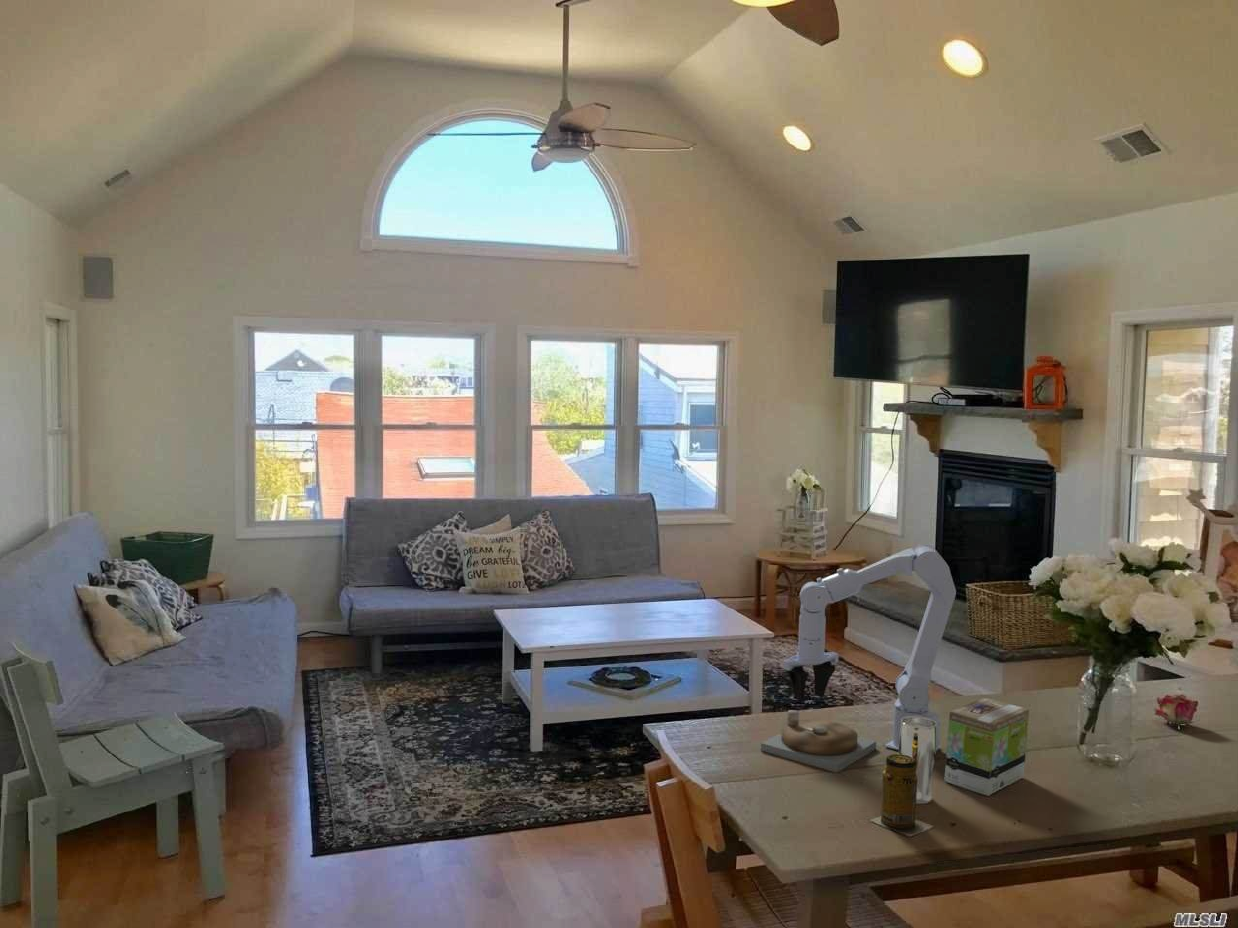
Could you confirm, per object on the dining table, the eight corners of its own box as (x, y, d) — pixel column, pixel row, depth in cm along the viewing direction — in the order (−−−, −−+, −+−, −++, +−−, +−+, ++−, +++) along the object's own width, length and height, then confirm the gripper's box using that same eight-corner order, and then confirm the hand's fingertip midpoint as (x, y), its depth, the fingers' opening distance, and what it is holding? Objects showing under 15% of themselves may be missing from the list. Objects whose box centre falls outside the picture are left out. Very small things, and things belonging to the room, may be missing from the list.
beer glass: (928, 808, 193) (932, 730, 192) (891, 799, 197) (895, 722, 196) (938, 795, 199) (942, 720, 198) (902, 787, 203) (906, 713, 201)
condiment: (893, 811, 192) (896, 748, 191) (933, 827, 185) (936, 762, 184) (869, 821, 187) (872, 757, 186) (909, 838, 181) (912, 772, 179)
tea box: (990, 798, 199) (995, 723, 197) (942, 782, 206) (946, 710, 205) (1025, 778, 209) (1030, 707, 208) (979, 763, 216) (983, 695, 215)
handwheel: (870, 740, 223) (871, 717, 223) (835, 760, 211) (836, 737, 210) (804, 723, 233) (805, 701, 233) (767, 741, 221) (768, 719, 220)
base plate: (875, 748, 223) (876, 741, 223) (837, 772, 209) (837, 764, 209) (802, 729, 235) (802, 721, 235) (760, 750, 221) (761, 742, 221)
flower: (1209, 728, 236) (1205, 695, 240) (1170, 719, 236) (1167, 686, 240) (1183, 739, 245) (1181, 707, 249) (1146, 730, 245) (1144, 698, 248)
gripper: (824, 629, 234) (821, 688, 235) (774, 636, 226) (772, 697, 227) (846, 636, 228) (843, 696, 229) (795, 644, 220) (793, 706, 221)
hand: (809, 697), depth 228 cm, fingers open, 5 cm apart
